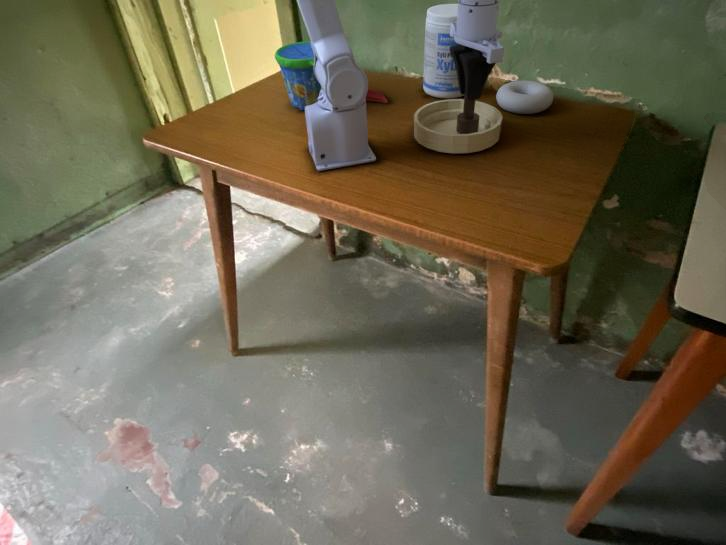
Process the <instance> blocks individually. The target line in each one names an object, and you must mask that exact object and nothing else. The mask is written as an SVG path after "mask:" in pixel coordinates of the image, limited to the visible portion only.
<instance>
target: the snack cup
mask: <svg viewBox="0 0 726 545" xmlns="http://www.w3.org/2000/svg"><path fill="white" fill-rule="evenodd" d="M274 59H275V61H276V63H277V64H278V66H279V68H280V73H281V76H282V79H283V82H284V86H285V89H286V92H287V95H288V100H289V102H290V105H291V106H292V107H294V108H296V109H298V110H300V111H305V107H306V106H309V105H312V104H315V103H316V102H318V97H319V94H320V91H321V89H322V86H321V85H320V83H319V82H318V81H317V79H316V77H315V74H314V53H313V50H312V47H311V42H310V41H297V42H293V43H292V42H291V43H288V44H284V45H282V46H281V47H279V48H278V49H276V50H275V53H274Z"/></svg>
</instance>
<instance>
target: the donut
mask: <svg viewBox="0 0 726 545" xmlns="http://www.w3.org/2000/svg"><path fill="white" fill-rule="evenodd" d="M495 100H496V102H497V105H498V106H499V107H500V108H502V109H503V110H505V111H507V112H509V113H513V114H517V115H518V114H519V115H532V114H539V113H541V112H544V111H545V110H547V109H549V107H550V106H551V105H552V104H553V101H554V92H553V91H552V89H551V88H550V86H548V85H546V84H545V83H542V82H539V81H534V80H525V79H523V80H515V81H514V80H513V81H510V82H507V83H505V84H503V85H502V86H501V87H499V88H498V90H497V92H496V95H495Z"/></svg>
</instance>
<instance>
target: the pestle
mask: <svg viewBox="0 0 726 545" xmlns="http://www.w3.org/2000/svg"><path fill="white" fill-rule="evenodd" d="M463 99H464V108H463V113H460V114H458V116H457V127H456V131H457V132H458V133H459V134H470V133H476V132H478V126H479V115H478V114H476V113H474V111H475V101H477V99H475V100H467V99H466V93H465V95H464V98H463Z"/></svg>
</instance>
